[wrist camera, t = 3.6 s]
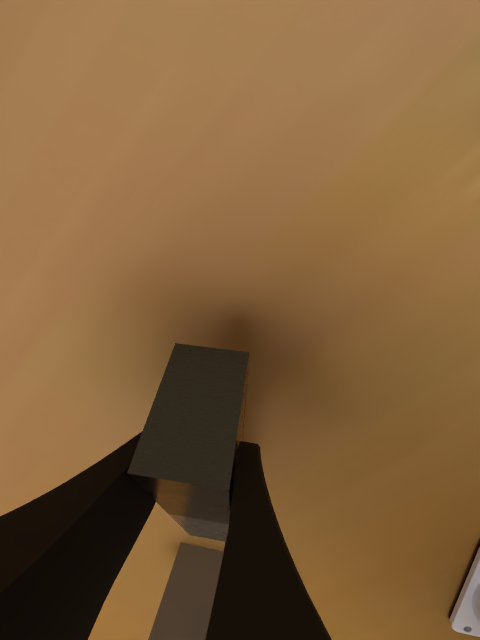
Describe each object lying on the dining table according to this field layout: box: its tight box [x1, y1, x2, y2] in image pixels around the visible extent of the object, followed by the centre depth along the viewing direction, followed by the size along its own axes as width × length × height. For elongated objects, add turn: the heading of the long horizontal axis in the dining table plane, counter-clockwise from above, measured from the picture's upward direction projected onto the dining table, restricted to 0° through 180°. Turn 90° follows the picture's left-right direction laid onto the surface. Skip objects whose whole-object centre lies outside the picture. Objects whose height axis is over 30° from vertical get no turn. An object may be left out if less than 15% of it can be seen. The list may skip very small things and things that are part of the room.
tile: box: [148, 543, 224, 640], centre depth 18 cm, size 8×2×8 cm, turn 84°
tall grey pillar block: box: [127, 343, 249, 542], centre depth 13 cm, size 14×2×4 cm
